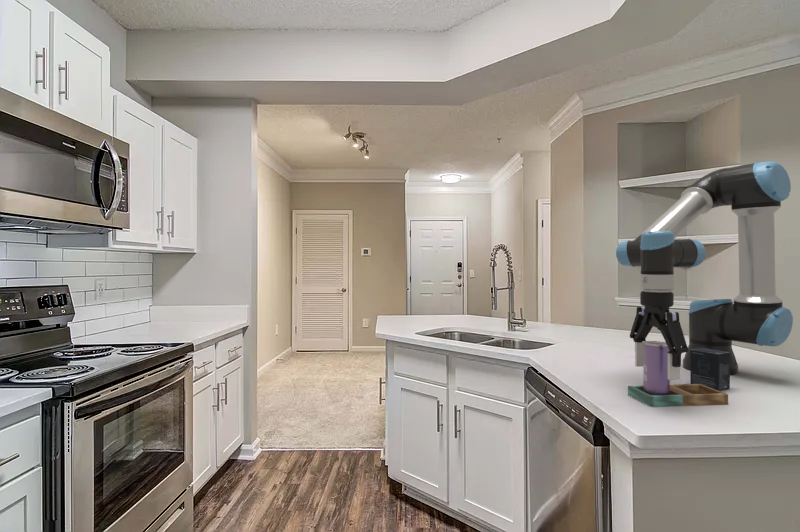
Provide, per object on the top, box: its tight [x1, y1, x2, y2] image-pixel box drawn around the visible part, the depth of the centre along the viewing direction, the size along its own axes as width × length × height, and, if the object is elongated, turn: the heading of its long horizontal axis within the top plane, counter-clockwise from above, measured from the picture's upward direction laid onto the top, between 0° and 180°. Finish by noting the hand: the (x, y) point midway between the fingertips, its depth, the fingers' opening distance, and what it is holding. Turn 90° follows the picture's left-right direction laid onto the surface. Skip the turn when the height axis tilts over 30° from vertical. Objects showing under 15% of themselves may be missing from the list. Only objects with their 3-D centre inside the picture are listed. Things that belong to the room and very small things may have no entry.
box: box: [689, 348, 731, 392], centre depth 130 cm, size 8×6×11 cm
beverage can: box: [642, 340, 671, 395], centre depth 119 cm, size 6×6×15 cm
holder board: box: [627, 383, 729, 407], centre depth 119 cm, size 21×10×2 cm, turn 94°
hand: (656, 372), depth 119 cm, fingers open, 13 cm apart
